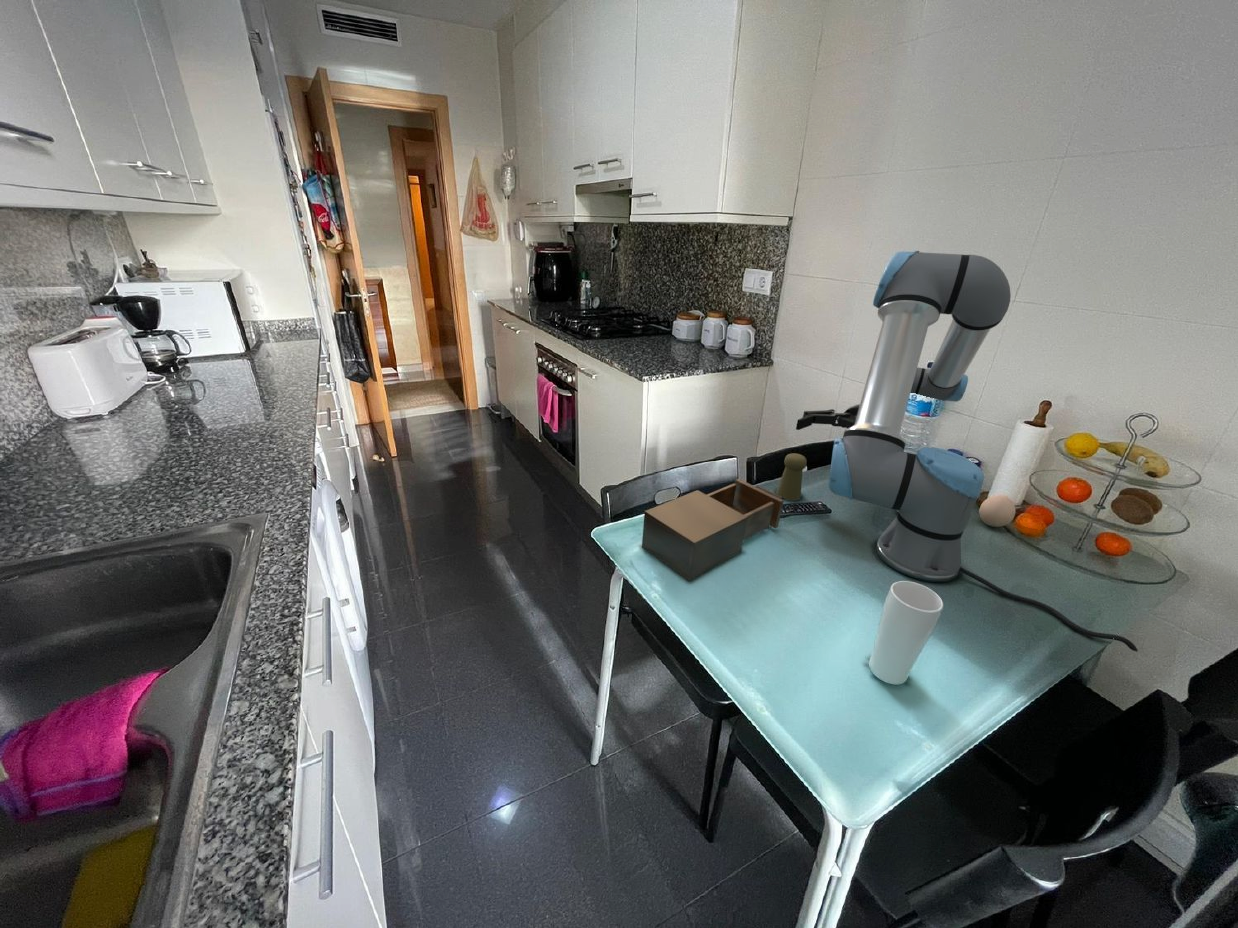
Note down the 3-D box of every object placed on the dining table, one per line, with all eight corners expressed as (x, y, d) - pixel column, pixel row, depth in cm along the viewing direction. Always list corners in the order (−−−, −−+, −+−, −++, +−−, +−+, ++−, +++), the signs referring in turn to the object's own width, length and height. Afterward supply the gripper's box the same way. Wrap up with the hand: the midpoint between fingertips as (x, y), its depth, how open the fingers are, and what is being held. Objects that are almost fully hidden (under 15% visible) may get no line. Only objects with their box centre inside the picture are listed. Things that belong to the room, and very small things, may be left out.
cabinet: (693, 523, 113) (697, 489, 109) (741, 552, 103) (748, 516, 100) (641, 546, 103) (644, 511, 100) (689, 580, 94) (694, 543, 90)
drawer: (746, 498, 123) (750, 473, 120) (790, 520, 114) (796, 494, 111) (692, 522, 111) (696, 495, 108) (736, 548, 103) (742, 520, 100)
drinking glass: (856, 671, 76) (883, 594, 70) (871, 648, 81) (898, 573, 74) (904, 698, 72) (937, 619, 66) (917, 672, 77) (949, 595, 70)
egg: (977, 514, 122) (989, 486, 119) (1010, 525, 118) (1023, 496, 115) (971, 524, 118) (983, 495, 115) (1005, 536, 114) (1018, 506, 110)
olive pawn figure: (802, 502, 124) (811, 462, 119) (776, 498, 125) (785, 459, 120) (799, 490, 129) (808, 452, 124) (775, 487, 130) (783, 449, 125)
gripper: (824, 392, 146) (782, 405, 133) (912, 418, 129) (873, 435, 116) (818, 416, 149) (777, 431, 137) (904, 444, 132) (865, 464, 120)
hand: (821, 433), depth 126 cm, fingers open, 13 cm apart
